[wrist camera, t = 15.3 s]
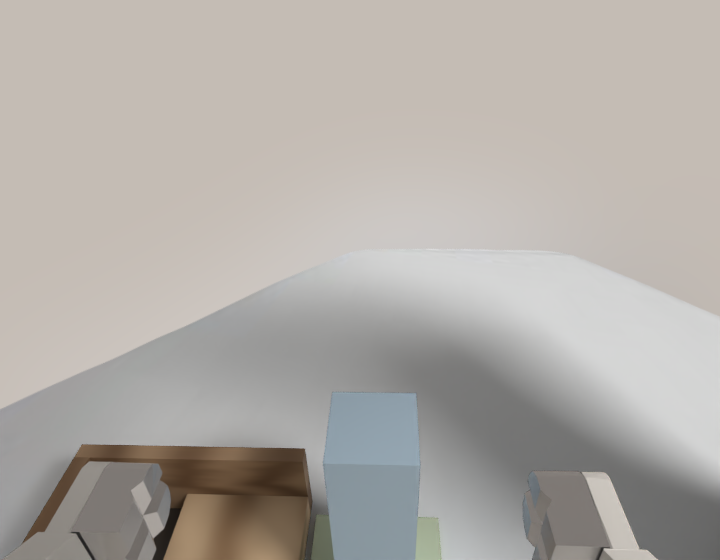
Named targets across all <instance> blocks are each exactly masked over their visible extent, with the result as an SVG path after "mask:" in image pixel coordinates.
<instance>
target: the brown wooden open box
mask: <svg viewBox="0 0 720 560" xmlns="http://www.w3.org/2000/svg"><path fill="white" fill-rule="evenodd" d="M89 461H94V462H123V463H152V464H159V466H160V468H161V471H162V476H161V478H160V480H161V481H162V482H164V483H165V484H166V485H168V488H169V491H170V497H171V504H170V511H169V516H168V519H167V522H166V525H165V527H164V529H163V530H162V531H161V532H160V533H159V534H158V535H156V536H155V537H154V538H153V539H154V542H155V546H156V551H155V554H154V556H153V559H152V560H304V559H305V552H306V544H307V537H308V530H309V522H310V515H311V507H312V496H311V489H310V482H309V475H308V468H307V461H306V454H305V449H298V448H245V447H191V446H138V445H84V444H82V445H81V447H80V449H79V450H78V452H77V454H76V455H75V457H74V459H73V460H72V462H71V464H70V465H69V467H68V469H67V470H66V472H65V473H64V475H63V477H62V478H61V480H60V482H59V483H58V485H57V487H56V488H55V490H54V492H53V493H52V495H51V497H50V498H49V500H48V502H47V503H46V505H45V506H44V508H43V510H42V511H41V513H40V515H39V516H38V518H37V520H36V521H35V523H34V525H33V526H32V528H31V530H30V531H29V533H28V535H27V536H26V538H25V539H24V541H23V543H24V542H25V541H27V540H28V539H29V538H31V537H32V536H33V535H34V534H36V533H37V532H45V530H46V528H47V527H48V525H49V523H50V521H51V520H52V518H53V516H54V515H55V513H56V511H57V510H58V508H59V506H60V504H61V503H62V501H63V499H64V498H65V496H66V494H67V492H68V491H69V489H70V487H71V486H72V484H73V482H74V480H75V479H76V477H77V475H78V474H79V472H80V470H81V469H82V467H84V466H85V465H86V464H87V463H88V462H89ZM23 543H22V544H23ZM22 544H21V545H22Z"/></svg>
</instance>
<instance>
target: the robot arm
mask: <svg viewBox="0 0 720 560" xmlns="http://www.w3.org/2000/svg"><path fill="white" fill-rule="evenodd" d="M161 476H162V471H161V468H160V466H159V464H152V463H123V462H94V461H89V462H88V463H87V464H86V465H85V466H84V467H82V469H81V470H80V472H79V474H78V475H77V477H76V479H75V480H74V482H73V484H72V486H71V487H70V489H69V491H68V492H67V494H66V496H65V498H64V499H63V501H62V503H61V504H60V506H59V508H58V510H57V511H56V513H55V515H54V516H53V518H52V520H51V521H50V523H49V525H48V527H47V528H46V530H45V532H37V533H36V534H34V535H33V536H32V537H31V538H29V539H28V540H27V541H25V542H24V543H23V544H22V545H20V546H19V547H18V548H16V549H15V550H14V551H13V552H11V553H10V554H9V555H7V556H6V557H5V558H4V559H2V560H152V559H153V556H154V554H155V551H156V546H155V542H154V539H153V538H154V537H155V536H156V535H158V534H159V533H160V532H161V531H162V530H163V529H164V527H165V525H166V522H167V519H168V516H169V511H170V504H171V497H170V491H169V488H168V485H166V484H165V483H164V482H162V481H161V480H160V478H161ZM528 484H529V488H530V490H529V491H528V492H526V493H525V495H524V500H523V521H524V528H525V532H526V537H527V539H528V541H529V542H530V543H531V544H532V545H533V546H534V547H535V551H534V554H533V558H532V560H658V559H657V558H656V557H655V556H653V555H652V554H651V553H650V552H649V551H648V550H643V549H639V546H638V544H637V542H636V539H635V537H634V534H633V532H632V530H631V527H630V525H629V522H628V520H627V518H626V515H625V513H624V511H623V508H622V506H621V503H620V501H619V499H618V496H617V494H616V491H615V489H614V487H613V484H612V482H611V479H610V477H609V476H608V475H607V474H606V473H604V472H579V471H532V472H531V473H530V475H529V479H528Z"/></svg>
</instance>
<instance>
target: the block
mask: <svg viewBox="0 0 720 560" xmlns="http://www.w3.org/2000/svg"><path fill="white" fill-rule="evenodd" d="M323 467H324V476H325V485H326V494H327V502H328V511H329V520H330V528H331V537H332V546H333V554H334V560H415V555H416V537H417V518H418V500H419V481H420V451H419V433H418V414H417V396H416V393H372V392H332V398H331V406H330V414H329V421H328V429H327V437H326V445H325V452H324V460H323Z"/></svg>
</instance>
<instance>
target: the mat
mask: <svg viewBox="0 0 720 560" xmlns="http://www.w3.org/2000/svg"><path fill="white" fill-rule="evenodd" d="M311 560H334V554H333V546H332V537H331V528H330V520H329V515H316V521H315V529H314V537H313V545H312V553H311ZM415 560H442V559H441V547H440V535H439V523H438V518H428V517H418V518H417V537H416V555H415Z"/></svg>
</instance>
